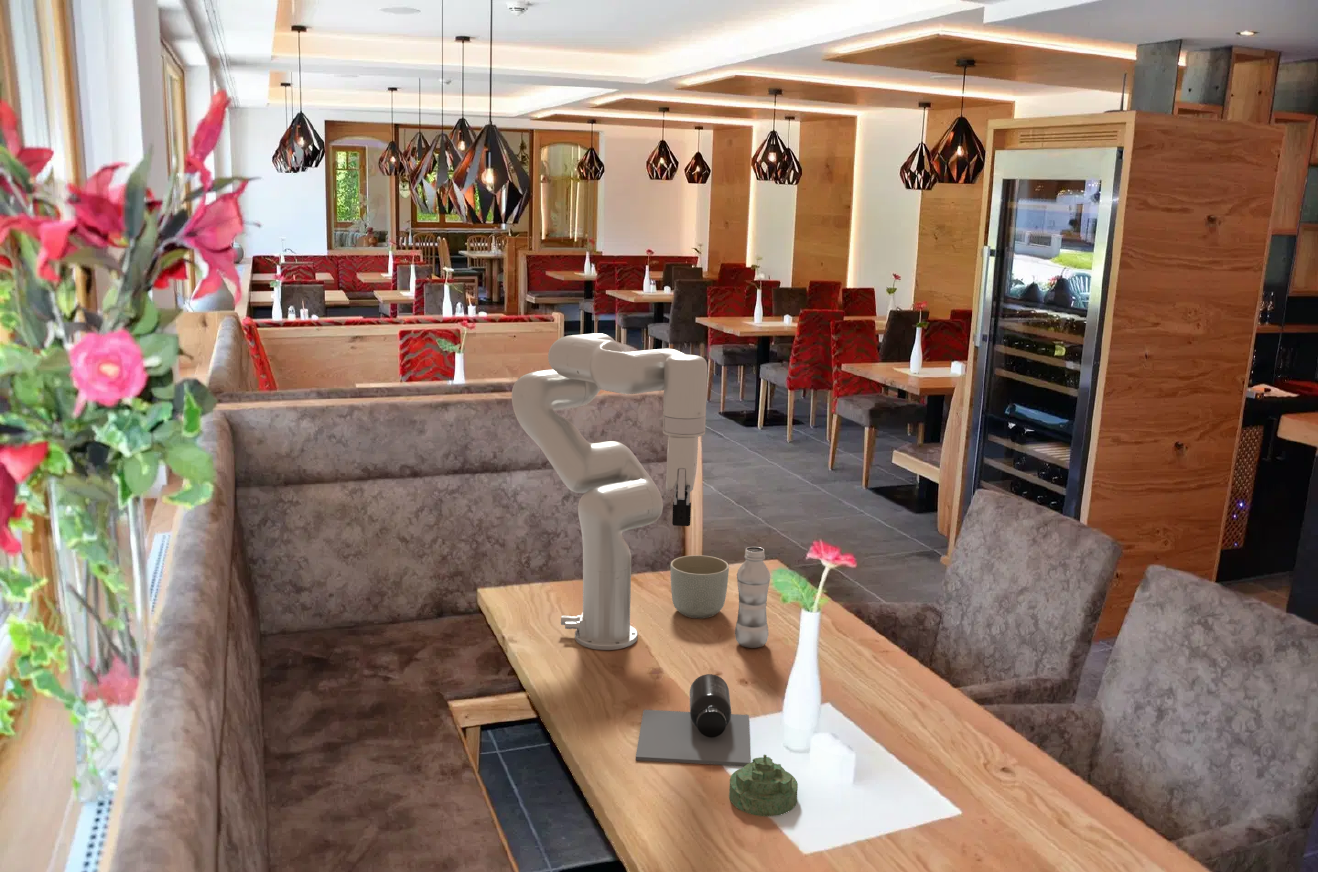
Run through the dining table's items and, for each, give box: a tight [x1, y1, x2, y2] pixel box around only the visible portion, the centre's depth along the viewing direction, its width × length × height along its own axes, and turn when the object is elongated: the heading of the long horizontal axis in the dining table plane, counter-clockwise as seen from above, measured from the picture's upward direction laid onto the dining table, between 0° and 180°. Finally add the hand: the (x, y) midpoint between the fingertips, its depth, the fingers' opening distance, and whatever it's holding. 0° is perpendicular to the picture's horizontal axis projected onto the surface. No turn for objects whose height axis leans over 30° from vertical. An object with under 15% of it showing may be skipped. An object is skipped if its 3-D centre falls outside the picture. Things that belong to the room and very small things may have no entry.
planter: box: [670, 554, 730, 619], centre depth 228 cm, size 12×12×11 cm
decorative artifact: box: [728, 754, 799, 817], centre depth 158 cm, size 10×7×10 cm
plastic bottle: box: [734, 546, 771, 649], centre depth 210 cm, size 6×7×20 cm
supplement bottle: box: [689, 673, 732, 738], centre depth 177 cm, size 7×7×12 cm
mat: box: [635, 709, 751, 767], centre depth 175 cm, size 18×16×1 cm
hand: (681, 524), depth 192 cm, fingers closed
